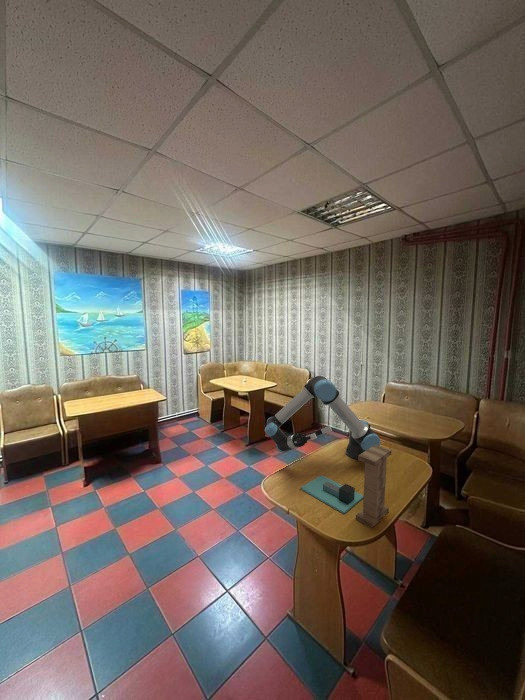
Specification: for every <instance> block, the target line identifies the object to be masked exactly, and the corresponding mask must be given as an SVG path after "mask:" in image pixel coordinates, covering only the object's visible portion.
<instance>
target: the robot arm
mask: <svg viewBox="0 0 525 700" xmlns="http://www.w3.org/2000/svg"><path fill="white" fill-rule="evenodd" d="M340 394H341V393H340V391H339V390H338V389H337V388H336V385H335V384H334V383H333V381H331V380H329V379H328V378H326V377H325V376H323V375H315V376H314V377H313V378H311V379H309V380H308V381H307V382H306V383H305V385H303V388H302V390H301V391H299V392H298V393H297V394H296V395H295V396H293V398H292V399H290V401H289V402H287V403H286V404H285V405H284V406H283V407H282V408H281V409H280V410H278V411H277V412H276V413H275V415H273V416H270V417H268V418H267V420H266V426H265V428H264V432H265V433H266V435H267V437H269V438H270V439H271V440H272V441H273V442H274V443H275V448H276V450H277V451H278V452H280V453H285V452H288V451H291V450H297V448H301V447H303V446H305V445H306V444H307V443H308V442H310V441H312V440H316V439H318V436H319V435H323V434H326V433H330V432H333V429H332V428H331V427H332V426H329V425H328V426H326V427H320V429H318V430H315V431H312V432H307V433H301V432H297V433H295V434H292V435H289V436H287V435H286V434H285V433H284V432H283V430H282V429H281V426H282V425H283V424H284V423H285V422H287V421H288V420H289V419H290V418H291V417H292V416H293V415H295V413H296V412H298V411H299V410H300V409H301V408H302V407H303V406H304V405H305V404H307V402H309V401H311V399H313V398H315V397H317V399H319V400H320V401H321V403H322V404H323V405H324V406H328V407H329V408H330V409H331V410H332V412H333V413H335V415H336V416H337V417H338V418H339V419H340V420H341V422H342V423H343V424H344V425H345V426H346V427H347V429H348V430H349V431H348V433H349V434H348V437H349V438H348V444H347V447H346V449H345V454H346V455H347V457H349V458H350V459H354V460H357V461H359V460H358V455H360V454H361V453H363V452H365V451H366V450H368V449H369V448H371V447H373V446H374V445H378V446H381V439H380V437H379V436H378V435H379V434H377V433H375V432H374V431H373V429H372V428H371V427H370V426H369V425H370V424H369V421H367V420H363V419H360V418H359V417H358V416H357V415H356V413H355V412H354V411H353V410H352V409H351V408H350V407H349V405H348V404H347V402H345V401H344V400H343V398H342V397H341V396H340Z"/></svg>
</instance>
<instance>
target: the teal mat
mask: <svg viewBox="0 0 525 700" xmlns="http://www.w3.org/2000/svg"><path fill="white" fill-rule="evenodd" d="M326 482H329V483H331V484H333V485H335V486H337V487H339V488H340V487H342V486H343V485H344V484H343V485H342V484H341V483H339V482H338V481H337V482H336V481H334V480H333V479H330V478H328V477H327V476H324V475H322V474H321V475H319V476H317V477H316V478H314V479H312V480H310V481H309V482H307V483H306V484H304V485H302V486H301V487H300V490H301V491H303V492H305V493H306V494H307V495H310V496H312V497H313V498H315V499H317V500H319V502H322V503H323V504H326V505H327V506H328V507H331V508H332V509H334V510H336V511H338V512H339V513H341V514H342V515H345V514H347V513H348V512H349V511H350V510H352V509H353V508H354V507H355V506H356V505H357V504H359V503H360V502H361V501H362V500H364V494H361V493H359V492H357V491H355V496H354V500H353V501H352V502H351V503H349V504H348V505H347V504H345V503H344V502H342V501H340V500H339V498H337V497H335V496H333V495H331V494H329V493H328V492H326V491H324V490H323V484H324V483H326Z"/></svg>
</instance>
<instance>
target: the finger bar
mask: <svg viewBox="0 0 525 700" xmlns="http://www.w3.org/2000/svg"><path fill="white" fill-rule="evenodd" d="M323 490H324V491H326V492H328V493H329V494H331V495H333V496H335V497H337V498H339V500H340V501H342V502H344V503H345V504H347V505H348V504H349V503H351V502H352V501H353V500H354V496H355V492H356V488H355V487H354V486H352V485H349V484H347V483H344V484H343V486H342V487H340V488H339V487H337V486H335V485H333V484H331V483H329V482H326V483H324V484H323Z"/></svg>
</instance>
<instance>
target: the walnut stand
mask: <svg viewBox="0 0 525 700" xmlns="http://www.w3.org/2000/svg"><path fill="white" fill-rule="evenodd" d="M392 452H393V451H392V449H389V448H387V447H383V446H381V445H380V446H378V445H374V446H373V447H371V448H369V449H368V450H366V451H365V452H363V453H361V454H360V455H358V460H357V461H360V462H362V463H364V476H363V477H364V480H363V496H364V498H363V505H362V509H361V510H360V511H359V512H358V513H356V514H355V520H357V521H358V522H359V523H361V524H364V525H365V526H367V527H369V528H370V529H373V528H374V527H375V526H376V525H377V524H378V523H379V522H380V521H381V520H382V519H383V518H384V517H385V516H386V515H387V514H388V513H389V507H390V506H389V507H388V506H386V505H385V501H386V499H385V498H386V497H385V496H386V483H387V482H386V479H387V464H388V463H387V462H388V461H387V460H388V458H389V457H390V456H391V455H392Z"/></svg>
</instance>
